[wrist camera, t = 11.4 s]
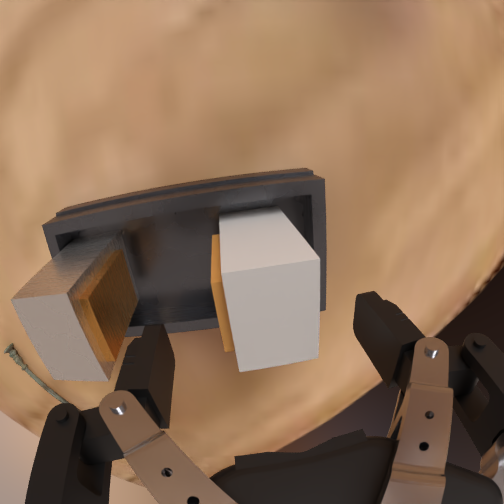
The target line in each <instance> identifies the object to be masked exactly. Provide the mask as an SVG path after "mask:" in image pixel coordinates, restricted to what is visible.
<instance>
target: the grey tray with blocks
mask: <svg viewBox="0 0 504 504" xmlns="http://www.w3.org/2000/svg"><path fill="white" fill-rule="evenodd" d="M275 206H278V207H279V208H280V210H281V211H282V212H283V213H284V214H285V216H286V217H287V218H288V219H289V220H290V222H291V223H292V224H293V225H294V227H295V228H296V229H297V230H298V232H299V233H300V234H301V235H302V237H303V238H304V239H305V240H306V241H307V243H308V244H309V245H310V247H311V248H312V249H313V250H314V252H315V253H316V254H317V255H318V257H319V258H320V311H324V310H326V203H325V179H323V178H321V177H319V176H317V175H314V174H313V171H312V170H310V169H307V168H301V169H290V170H279V171H269V172H260V173H251V174H243V175H235V176H228V177H220V178H213V179H206V180H200V181H193V182H187V183H181V184H175V185H169V186H164V187H158V188H153V189H147V190H142V191H137V192H132V193H127V194H122V195H118V196H113V197H108V198H104V199H99V200H95V201H91V202H86V203H82V204H78V205H74V206H70V207H66V208H64V209H62V210H61V211H59V212H57V213H56V217H54V218H53V219H51V220H50V221H48V222H47V223H45V224H43V225H42V227H43V230H44V234H45V237H46V241H47V244H48V247H49V250H50V253H51V256H52V259H51V260H50V261H49V262H48V263H47V264H46V265H45V266H44V267H43V268H42V269H41V270H40V271H38V272H37V273H36V274H35V275H34V276H33V277H32V278H31V279H30V280H29V281H28V282H27V283H26V284H25V285H24V286H23V287H22V288H21V289H20V290H19V291H18V292H17V293H16V294H15V295H14V297H13V298H12V299H11V301H12V304H13V306H14V308H15V310H16V312H17V314H18V316H19V319H20V321H21V323H22V325H23V327H24V329H25V330H26V332H27V334H28V336H29V338H30V340H31V342H32V344H33V345H34V347H35V349H36V351H37V352H38V354H39V356H40V358H41V359H42V361H43V363H44V364H45V366H46V368H47V369H48V371H49V372H50V374H51V376H52V377H53V379H54V380H72V381H109V380H110V377H111V374H112V371H113V368H114V365H115V362H116V359H117V356H118V353H119V350H120V348H121V345H122V342H123V339H124V337H132V336H142V333H143V330H144V327H145V325H153V324H164V326H165V328H166V331H167V333H177V332H186V331H195V330H203V329H211V328H219V327H220V326H219V321H218V317H217V312H216V307H215V302H214V297H213V292H212V287H211V256H212V235H217V234H220V228H219V214H222V213H229V212H237V211H244V210H251V209H259V208H267V207H275Z"/></svg>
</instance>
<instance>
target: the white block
mask: <svg viewBox="0 0 504 504" xmlns="http://www.w3.org/2000/svg"><path fill="white" fill-rule="evenodd" d="M219 228H220V234H217V235H212V256H211V287H212V292H213V297H214V302H215V307H216V312H217V317H218V321H219V326H220V331H221V335H222V340H223V345H224V349H225V352H231V351H235V352H236V357H237V362H238V367H239V372H243V371H250V370H257V369H263V368H269V367H275V366H281V365H286V364H292V363H297V362H302V361H307V360H311V359H316V358H318V353H319V325H320V258H319V257H318V255H317V254H316V253H315V252H314V250H313V249H312V248H311V247H310V245H309V244H308V243H307V241H306V240H305V239H304V238H303V237H302V235H301V234H300V233H299V232H298V230H297V229H296V228H295V227H294V225H293V224H292V223H291V222H290V220H289V219H288V218H287V217H286V216H285V214H284V213H283V212H282V211H281V210H280V208H279V207H278V206H275V207H267V208H259V209H251V210H244V211H237V212H229V213H222V214H219Z"/></svg>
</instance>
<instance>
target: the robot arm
mask: <svg viewBox="0 0 504 504" xmlns="http://www.w3.org/2000/svg"><path fill="white" fill-rule="evenodd" d="M353 329H354V334H355V336H356V338H357V340H358V341H359V343H360V344H361V346H362V347H363V349H364V350H365V352H366V354H367V355H368V357H369V358H370V360H371V362H372V363H373V365H374V366H375V368H376V369H377V371H378V373H379V374H380V376H381V378H382V379H383V381H384V382H385V384H386V386H387V387H388V388H389V389H390V388H393V387H395V386H399V387H400V392H399V395H398V399H397V404H396V408H395V412H394V416H393V419H392V423H391V427H390V430H389V433H388V435H387V438H386V437H379V436H366V435H365V433H364V431H363V429H361V430H358V431H354V432H352V433H348V434H345V435H341V436H338V437H334V438H332V439H330V440H328V441H326V442H324V443H322V444H320V445H318V446H316V447H314V448H312V449H310V450H308V451H305V452H301V453H283V452H264V453H257V454H250V455H242V456H234V457H235V465H232V466H229V467H227V468H225V469H222V470H221V471H219V472H217V473H216V474H214V475H213V476H212V477H210V478H208V477H207V476H206V475H205V474H204V473H203V472H202V471H201V470H200V469H199V468H198V467H197V466H196V465H195V464H194V463H193V462H192V461H191V460H190V459H189V458H188V457H187V456H186V454H185V453H184V452H183V451H182V450H181V449H180V448H179V447H178V446H177V445H176V444H175V443H174V441H173V440H172V439H171V438H170V437H169V436H168V435H167V434H166V433H165V432H164V431H161V430H160V429H166V428H169V423H170V411H171V400H172V389H173V380H174V370H175V358H174V353H173V350H172V347H171V344H170V341H169V338H168V335H167V331H166V328H165V326H164V324H153V325H145V327H144V330H143V333H142V337H141V338H135V339H134V340H133V341H132V342H131V343H130V344H129V346H128V347H127V350H126V353H125V358H124V360H123V365H122V366H121V370H120V373H119V376H118V380H117V383H116V386H115V390H114V392H111V393H109V394H108V395H106V396H105V397H104V398H103V399H102V401H101V402H100V405H99V407H96V408H92V409H88V410H84V411H79V410H78V409H77V408H76V406H74V405H73V404H70V403H62V404H59V405H57V406H55V407H54V408H53V409H52V410H51V411H50V412H49V414H48V416H47V419H46V422H45V425H44V428H43V432H42V435H41V438H40V441H39V445H38V449H37V452H36V456H35V460H34V464H33V467H32V472H31V476H30V480H29V485H28V490H27V494H26V500H25V504H109V488H110V477H111V467H112V461H113V460H118V459H122V458H125V459H126V460H127V462H128V463H129V465H130V466H131V468H132V469H133V471H134V472H135V473H136V475H137V476H138V478H139V479H140V480H141V482H142V483H143V484H144V486H145V487H146V488H147V490H148V491H149V492H150V493H151V495H152V496H153V497H154V498H155V500H156V501H157V502H158V503H159V504H503V503H504V354H503V353H502V352H501V351H500V350H499V348H498V347H497V346H496V345H495V344H494V343H493V342H492V341H491V340H490V339H489V338H488V337H487V336H485V335H483V334H479V333H472V334H469V335H468V336H467V337H466V338H465V340H464V343H463V345H459V346H447V345H446V344H445V343H444V342H443V341H441V340H440V339H437V338H433V337H425V336H424V335H423V334H422V333H421V331H420V330H419V329H418V328H417V327H416V326H415V325H414V324H413V323H412V321H411V320H410V319H408V317H407V316H406V315H405V314H404V313H403V312H402V311H401V310H400V309H399V307H398V306H397V305H395V304H393V303H392V302H390V301H388V300H383V299H382V298H381V297H380V296H379V295H378V294H377V293H376V292H375V291H371V292H366V293H362V294H358V295H357V296H356V302H355V312H354V321H353ZM478 380H480V381H481V383H482V384H483V385H484V387H485V388H486V389H487V391H488V393H489V396H490V399H489V402H488V400H487V399H486V397H485V396H484V395H483V393H482V392H481V391H480V389H479V388H478V386H477V385H476V384H477V382H478ZM452 408H453V409H454V411H455V413H456V414H457V416H458V417H459V419H460V421H461V422H462V424H463V426H464V427H465V429H466V431H467V432H468V434H469V436H470V437H471V439H472V441H473V443H474V444H475V446H476V448H477V450H478V451H479V453H480V455H481V457H482V459H481V469H480V472H479V473H476V472H473V471H470V470H467V469H464V468H462V467H459V466H456V465H454V464H451V463H449V462H446V458H447V452H448V445H449V438H450V429H451V419H452Z"/></svg>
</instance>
